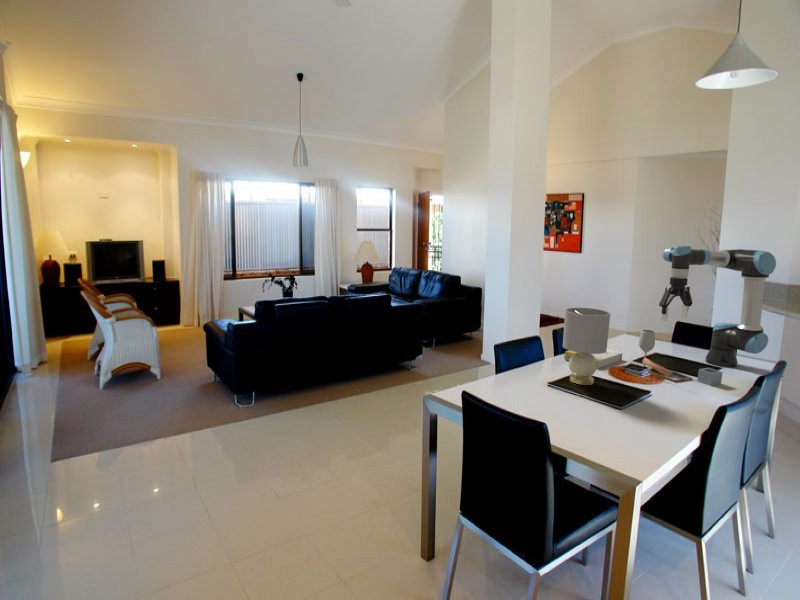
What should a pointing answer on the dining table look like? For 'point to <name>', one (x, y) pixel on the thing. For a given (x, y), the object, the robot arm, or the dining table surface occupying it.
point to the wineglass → (647, 341)
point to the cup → (709, 376)
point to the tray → (685, 378)
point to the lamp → (585, 341)
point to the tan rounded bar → (657, 367)
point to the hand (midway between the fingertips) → (674, 319)
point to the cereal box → (601, 357)
